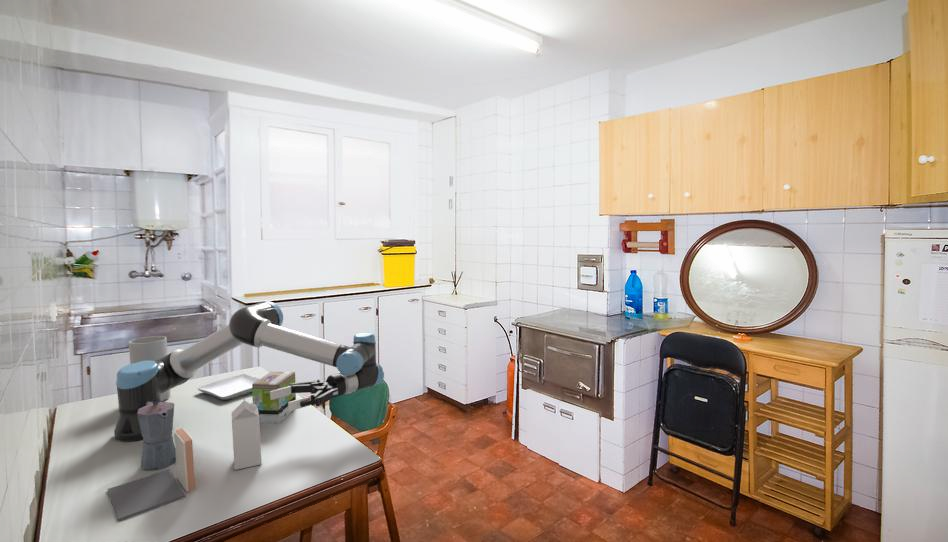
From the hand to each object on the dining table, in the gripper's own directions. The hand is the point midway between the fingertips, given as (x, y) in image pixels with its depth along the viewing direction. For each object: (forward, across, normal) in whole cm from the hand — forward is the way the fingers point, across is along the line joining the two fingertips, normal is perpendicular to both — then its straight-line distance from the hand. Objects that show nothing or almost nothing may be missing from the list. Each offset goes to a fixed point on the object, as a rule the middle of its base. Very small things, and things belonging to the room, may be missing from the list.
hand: (279, 401), depth 144 cm
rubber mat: (+35, +2, -16) cm, 39 cm away
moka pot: (+29, +20, -16) cm, 39 cm away
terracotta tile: (+26, 0, -16) cm, 31 cm away
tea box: (-10, +30, -16) cm, 35 cm away
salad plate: (-8, +68, -16) cm, 71 cm away
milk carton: (+10, 0, -16) cm, 19 cm away
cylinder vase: (+19, +82, -16) cm, 85 cm away
